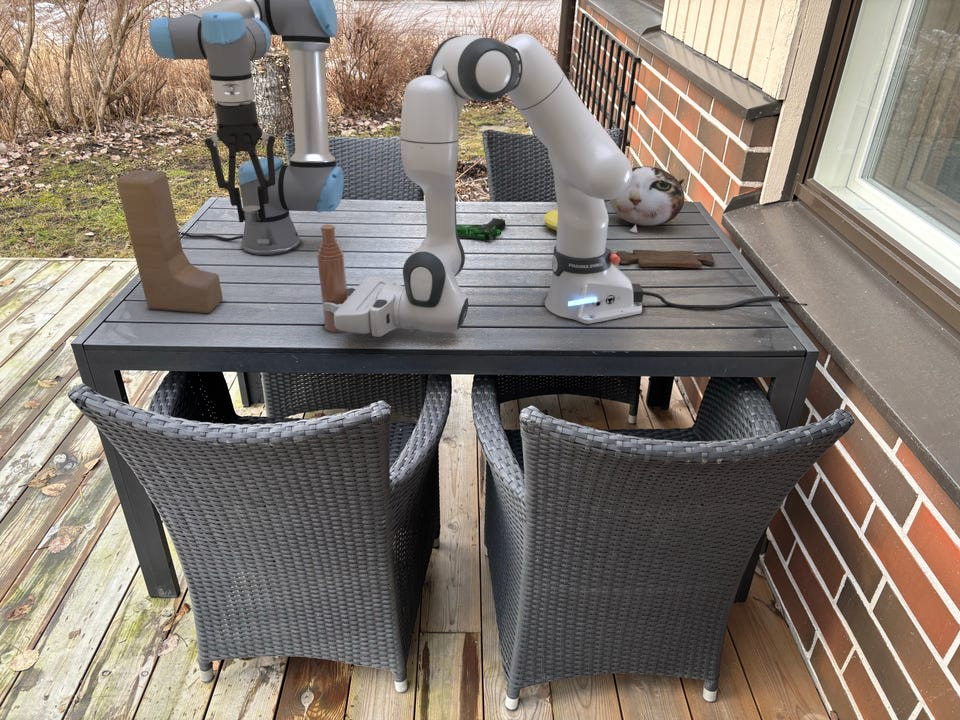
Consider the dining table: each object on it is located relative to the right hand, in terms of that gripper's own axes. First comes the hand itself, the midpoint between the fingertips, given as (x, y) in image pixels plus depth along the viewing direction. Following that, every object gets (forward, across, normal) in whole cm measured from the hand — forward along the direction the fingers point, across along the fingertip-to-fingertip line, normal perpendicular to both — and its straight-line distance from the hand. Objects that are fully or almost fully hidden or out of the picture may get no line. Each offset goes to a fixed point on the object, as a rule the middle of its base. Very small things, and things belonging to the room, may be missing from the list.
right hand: (330, 298), depth 154 cm
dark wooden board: (-71, -56, +7) cm, 91 cm away
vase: (-43, -74, +7) cm, 86 cm away
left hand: (+16, 0, -16) cm, 23 cm away
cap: (+16, 0, -18) cm, 24 cm away
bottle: (-1, 0, +7) cm, 7 cm away
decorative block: (+37, -1, +7) cm, 37 cm away
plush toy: (-64, -83, +7) cm, 105 cm away
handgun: (-17, -64, +7) cm, 67 cm away
